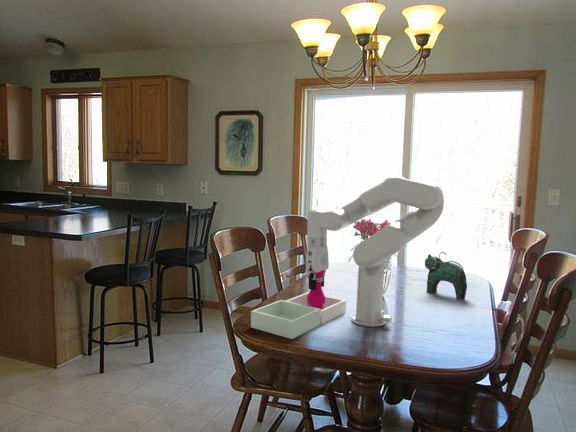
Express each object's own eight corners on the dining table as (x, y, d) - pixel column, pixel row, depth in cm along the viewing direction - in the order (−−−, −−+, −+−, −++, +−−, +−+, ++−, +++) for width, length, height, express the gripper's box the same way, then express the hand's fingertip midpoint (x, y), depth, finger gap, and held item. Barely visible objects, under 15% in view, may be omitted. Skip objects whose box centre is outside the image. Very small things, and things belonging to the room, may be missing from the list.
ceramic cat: (422, 291, 221) (424, 249, 219) (429, 289, 226) (432, 248, 223) (461, 301, 206) (464, 256, 204) (468, 299, 211) (471, 255, 209)
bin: (320, 325, 171) (320, 309, 170) (292, 339, 156) (292, 321, 156) (280, 314, 181) (281, 299, 181) (250, 327, 167) (251, 310, 166)
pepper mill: (324, 314, 180) (324, 263, 178) (305, 313, 181) (306, 262, 179) (326, 308, 187) (327, 259, 185) (308, 307, 188) (309, 258, 186)
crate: (345, 312, 186) (345, 300, 186) (321, 324, 172) (322, 311, 171) (307, 303, 197) (308, 292, 196) (282, 314, 182) (282, 301, 182)
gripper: (313, 245, 172) (312, 294, 174) (336, 240, 186) (335, 285, 188) (296, 243, 176) (296, 290, 178) (320, 238, 190) (319, 282, 192)
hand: (316, 287), depth 183 cm, fingers closed on pepper mill, 5 cm apart
